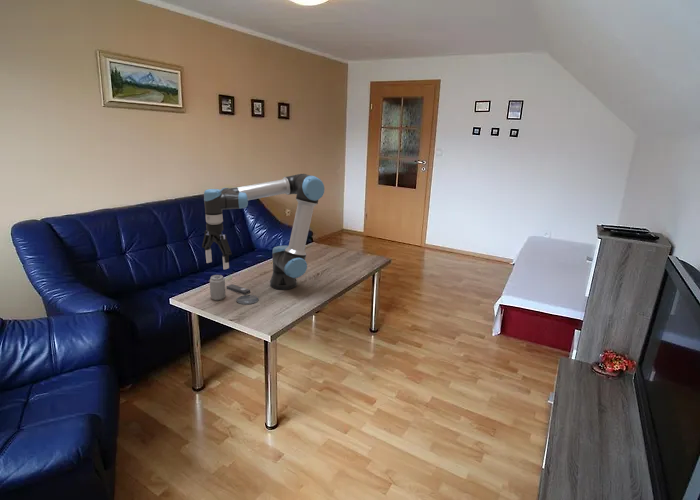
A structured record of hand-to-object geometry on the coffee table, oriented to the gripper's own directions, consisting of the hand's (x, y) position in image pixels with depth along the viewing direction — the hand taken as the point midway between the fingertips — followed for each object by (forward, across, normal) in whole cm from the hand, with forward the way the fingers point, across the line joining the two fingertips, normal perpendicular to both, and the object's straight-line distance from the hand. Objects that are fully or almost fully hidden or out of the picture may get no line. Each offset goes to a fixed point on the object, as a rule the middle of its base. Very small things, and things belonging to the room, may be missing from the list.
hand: (217, 265), depth 194 cm
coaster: (+22, +4, +14) cm, 26 cm away
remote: (+22, -10, +18) cm, 31 cm away
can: (+22, -10, +5) cm, 24 cm away
